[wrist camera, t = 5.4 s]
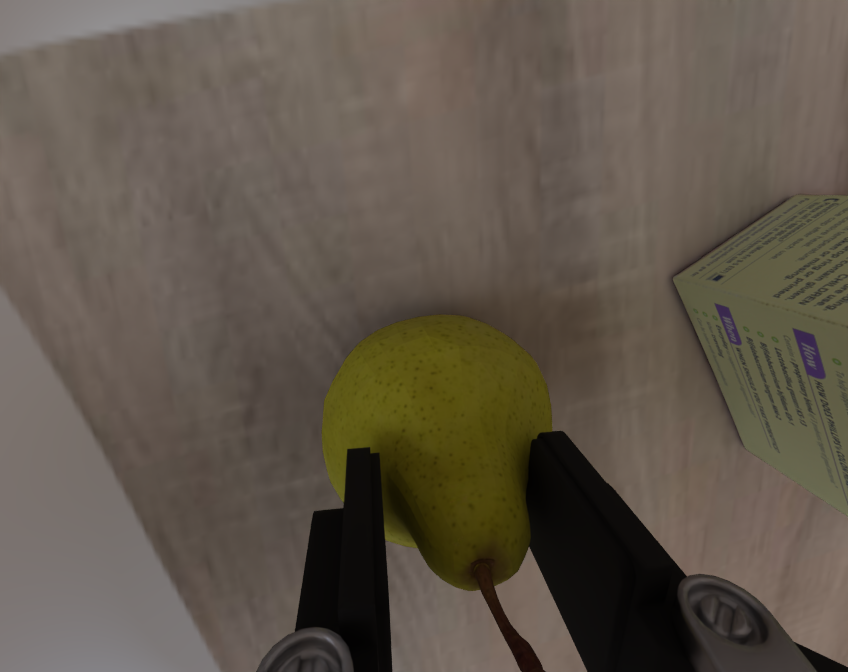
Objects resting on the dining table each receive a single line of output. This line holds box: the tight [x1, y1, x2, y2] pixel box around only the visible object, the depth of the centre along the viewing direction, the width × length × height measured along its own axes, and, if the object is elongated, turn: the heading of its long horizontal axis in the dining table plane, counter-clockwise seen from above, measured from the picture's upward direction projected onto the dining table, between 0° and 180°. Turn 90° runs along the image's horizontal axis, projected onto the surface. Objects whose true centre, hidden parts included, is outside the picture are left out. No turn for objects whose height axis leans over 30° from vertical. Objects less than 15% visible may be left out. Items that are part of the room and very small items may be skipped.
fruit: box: [322, 314, 552, 672], centre depth 11 cm, size 7×7×12 cm
